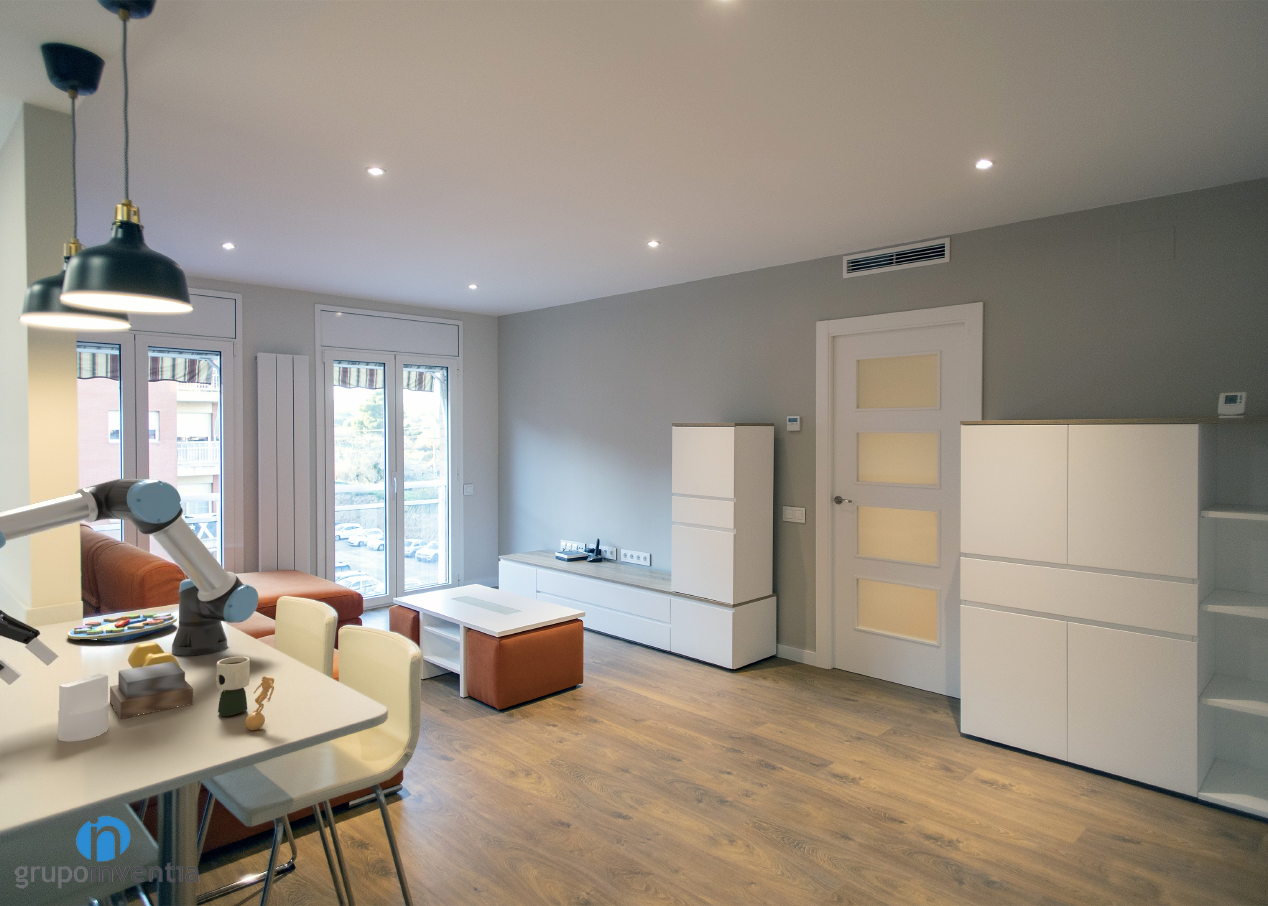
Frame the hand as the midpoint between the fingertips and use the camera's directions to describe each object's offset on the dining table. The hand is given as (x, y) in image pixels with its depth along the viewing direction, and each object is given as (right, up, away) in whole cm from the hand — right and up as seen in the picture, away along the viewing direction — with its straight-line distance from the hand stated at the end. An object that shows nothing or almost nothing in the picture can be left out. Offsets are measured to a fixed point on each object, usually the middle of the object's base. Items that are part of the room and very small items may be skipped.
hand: (35, 670), depth 159 cm
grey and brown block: (+11, -15, +21) cm, 28 cm away
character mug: (+35, -16, +15) cm, 42 cm away
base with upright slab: (+9, -15, +2) cm, 18 cm away
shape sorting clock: (-42, -14, +86) cm, 97 cm away
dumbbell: (-1, -15, +41) cm, 43 cm away
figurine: (+47, -16, +7) cm, 50 cm away
